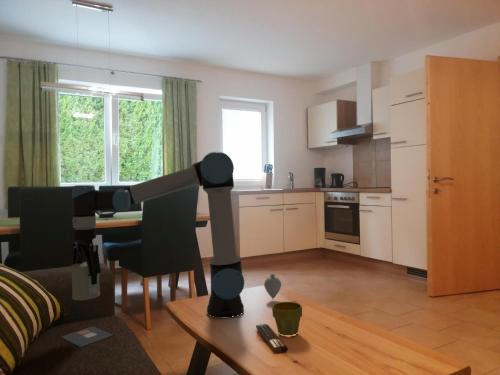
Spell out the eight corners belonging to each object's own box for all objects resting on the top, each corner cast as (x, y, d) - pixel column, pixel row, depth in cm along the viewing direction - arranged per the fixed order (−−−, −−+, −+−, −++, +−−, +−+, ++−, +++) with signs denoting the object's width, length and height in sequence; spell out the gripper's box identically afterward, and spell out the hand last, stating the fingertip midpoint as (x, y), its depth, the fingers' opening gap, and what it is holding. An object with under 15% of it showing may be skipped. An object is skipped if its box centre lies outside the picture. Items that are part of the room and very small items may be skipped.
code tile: (113, 335, 132) (113, 334, 132) (80, 347, 123) (80, 346, 123) (93, 326, 141) (93, 326, 141) (60, 337, 132) (60, 336, 132)
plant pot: (267, 331, 133) (266, 304, 133) (291, 326, 137) (291, 299, 137) (283, 342, 123) (282, 312, 123) (308, 336, 128) (308, 307, 128)
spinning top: (276, 304, 163) (276, 276, 163) (261, 301, 167) (260, 274, 167) (284, 299, 170) (283, 272, 170) (269, 297, 174) (269, 271, 174)
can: (89, 300, 128) (88, 266, 128) (66, 299, 130) (65, 265, 130) (105, 293, 137) (104, 260, 137) (82, 292, 139) (82, 260, 139)
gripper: (59, 227, 138) (61, 289, 138) (89, 231, 124) (91, 299, 124) (79, 225, 143) (81, 284, 144) (110, 228, 130) (112, 293, 130)
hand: (86, 291), depth 134 cm, fingers closed on can, 9 cm apart
